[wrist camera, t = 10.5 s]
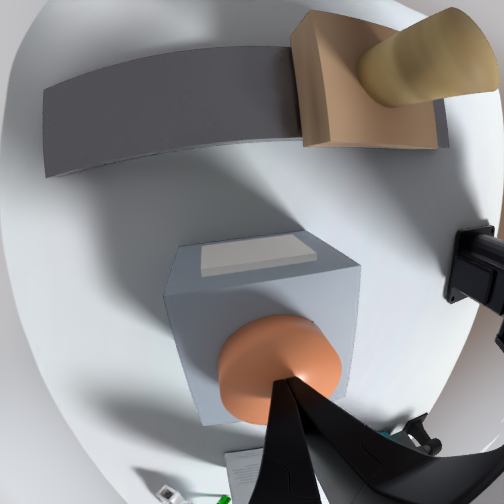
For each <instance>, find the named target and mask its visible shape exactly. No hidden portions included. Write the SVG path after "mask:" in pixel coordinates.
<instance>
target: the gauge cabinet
mask: <svg viewBox="0 0 504 504" xmlns="http://www.w3.org/2000/svg"><path fill="white" fill-rule="evenodd" d="M360 277H361V265H360V264H358V263H357V262H355V261H354V260H352V259H351V258H349V257H347V256H346V255H344V254H343V253H341V252H340V251H338V250H337V249H335V248H333V247H332V246H330V245H329V244H327V243H326V242H324V241H322V240H321V239H319V238H318V237H316V236H314V235H313V234H311V233H309V232H308V231H306V230H305V231H297V232H289V233H280V234H272V235H264V236H256V237H249V238H241V239H233V240H226V241H218V242H210V243H203V244H196V245H188V246H181V247H179V248H178V251H177V254H176V257H175V260H174V263H173V266H172V269H171V272H170V275H169V278H168V281H167V284H166V288H165V291H164V294H163V297H164V301H165V306H166V310H167V314H168V317H169V321H170V325H171V329H172V333H173V336H174V340H175V343H176V347H177V350H178V354H179V357H180V360H181V364H182V367H183V370H184V373H185V376H186V380H187V383H188V386H189V389H190V392H191V395H192V397H193V400H194V403H195V406H196V409H197V411H198V414H199V417H200V420H201V422H202V425H203V426H209V425H218V424H226V423H234V422H241V421H242V420H240V419H238V418H236V417H234V416H233V415H232V414H230V413H229V412H228V411H227V410H226V408H225V407H224V405H223V403H222V401H221V397H220V389H219V379H218V369H217V360H218V356H219V353H220V350H221V348H222V346H223V345H224V343H225V342H226V340H227V339H228V338H229V337H230V336H231V335H232V334H233V333H234V332H235V331H236V330H238V329H239V328H240V327H242V326H244V325H245V324H247V323H249V322H251V321H253V320H256V319H259V318H262V317H265V316H270V315H277V314H289V315H296V316H300V317H303V318H306V319H308V320H310V321H311V322H313V323H314V324H315V325H317V326H318V327H319V329H320V330H321V331H322V332H323V334H324V335H325V337H326V338H327V340H328V341H329V342H330V344H331V345H332V347H333V348H334V349H335V351H336V352H337V354H338V356H339V357H340V360H341V365H342V373H341V378H340V381H339V383H338V385H337V387H336V389H335V391H334V392H333V393H332V395H331V396H330V397H329V398H328V399H329V400H330V401H334V400H337V399H340V398H343V397H345V396H346V391H347V386H348V380H349V374H350V368H351V362H352V355H353V348H354V341H355V332H356V324H357V314H358V304H359V292H360Z"/></svg>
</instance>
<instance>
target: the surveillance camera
mask: <svg viewBox="0 0 504 504" xmlns="http://www.w3.org/2000/svg"><path fill="white" fill-rule="evenodd" d="M427 415H428V413H425V414H423V415H421V416H419V417H417V418H415V419H413V420H410V421H408V422H407V424H406V426H405V427H404V429H403V431H400V432H398V433H396V434H393V435H391V436H389V435H388V433H387V432H378V433H380V434H382V435H383V436H385V437H387V438H389V439H391V440H393V441H395V442H397V443H400V444H402V445H404V446H407V447H409V448H411V449H414V450H416V451H419V452H421V453H423V454H426V455H430V456H435V455H437V454H438V453H439V452H440V451H441V449H442V444H441V441H440V440H439V439H437V438H434V439H430V437H429V436H428V434H427V433H426V431H425V430H424V427H423V424H422V423H423V421H424V420H425V418H426V417H427ZM408 434H410V435H411V436H413V437H414V438H415V439H416V440H417V441H418V442H419V444H420V445H421V446H419V447H416V446H415V444H414V443H413V442H412V440H411V439H410V437H409V436H408Z"/></svg>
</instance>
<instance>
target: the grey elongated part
mask: <svg viewBox="0 0 504 504" xmlns="http://www.w3.org/2000/svg"><path fill="white" fill-rule="evenodd" d="M156 495H157V496H158V497H159V498H160V499H161V500H160V501H159V502H160V503H162V504H192V503H190V502H188V501H186V500H185V499H184V498H183V497H182V496H181V494H180V493H179V492H177V491H176V490H174V489H172V488H171V487H169V486H167V485H166V484H165V485H164V486H163V487H162V488H161V489H160V490H159V491H158V492H157V493H156ZM230 500H231V498H229V497H227V496H225V495H223V496H222V497H221V499H220V500H219V501H218V502H217V504H228V503H229V502H230Z"/></svg>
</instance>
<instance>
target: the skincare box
mask: <svg viewBox="0 0 504 504" xmlns="http://www.w3.org/2000/svg"><path fill="white" fill-rule="evenodd" d="M262 455H263V448H259V449H253V450H247V451H240V452H232V453H225V454H224V457H225V463H226V469H227V475H228V481H229V486H230V492H231V498H232V503H233V504H248V502H249V500H250V497H251V495H252V492H253V490H254V487H255V484H256V481H257V477H258V474H259V469H260V465H261V459H262Z"/></svg>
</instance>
